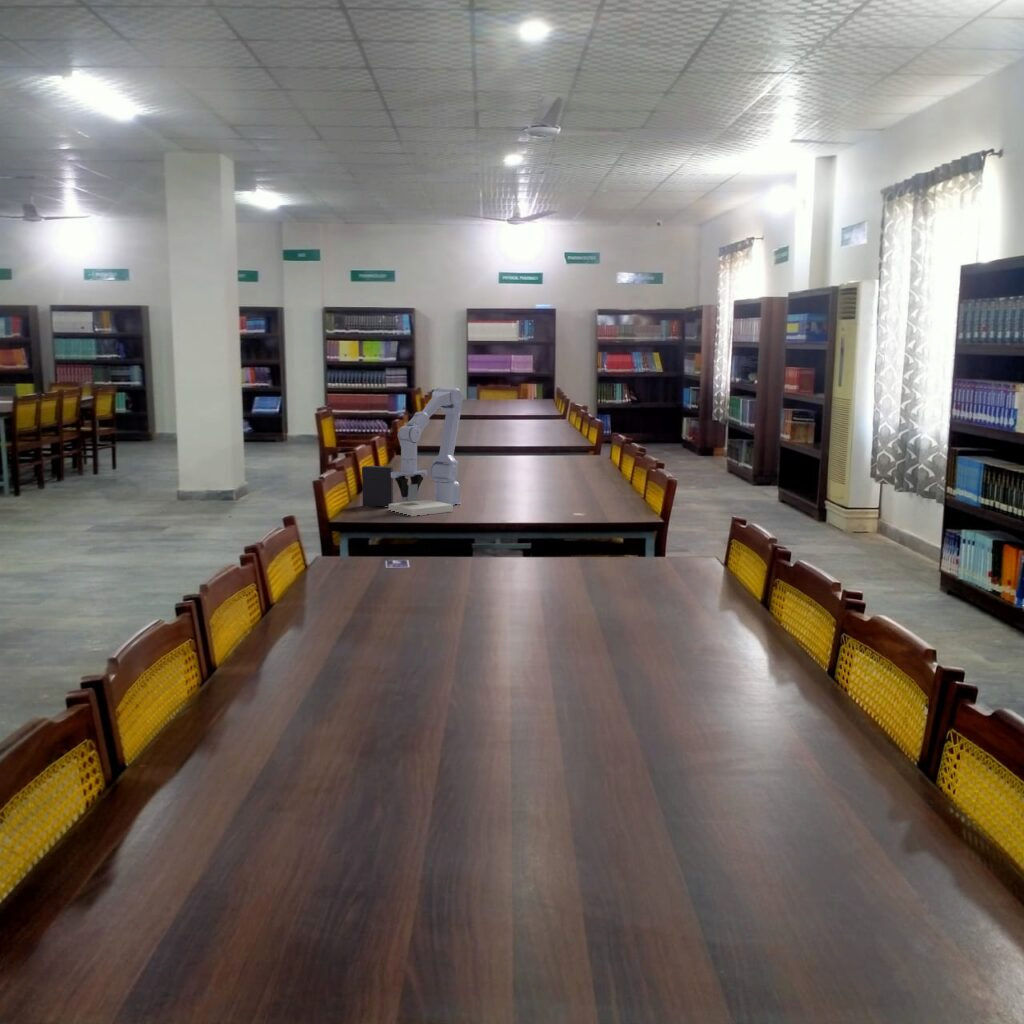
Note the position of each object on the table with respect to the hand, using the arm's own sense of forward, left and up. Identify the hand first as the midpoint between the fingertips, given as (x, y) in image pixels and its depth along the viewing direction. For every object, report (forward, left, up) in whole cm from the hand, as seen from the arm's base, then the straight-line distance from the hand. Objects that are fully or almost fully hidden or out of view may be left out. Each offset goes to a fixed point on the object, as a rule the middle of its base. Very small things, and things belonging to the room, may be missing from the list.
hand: (409, 496), depth 352 cm
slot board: (-3, +3, -5) cm, 7 cm away
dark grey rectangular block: (+4, -15, -6) cm, 17 cm away
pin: (0, 0, -1) cm, 1 cm away
